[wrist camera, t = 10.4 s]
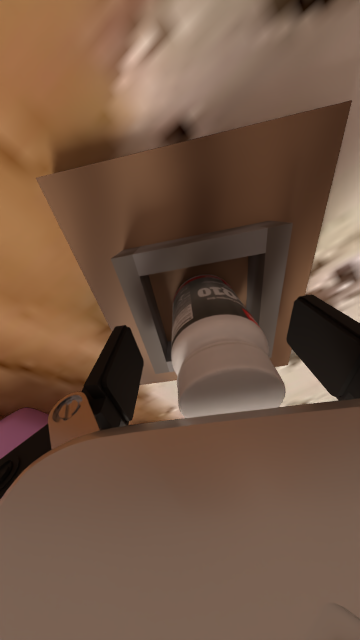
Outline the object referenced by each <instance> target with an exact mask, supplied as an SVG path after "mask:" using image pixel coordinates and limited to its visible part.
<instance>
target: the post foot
mask: <svg viewBox="0 0 360 640" xmlns="http://www.w3.org/2000/svg"><path fill="white" fill-rule="evenodd" d="M351 102H352V100H351V101H347V102H343V103H339V104H335V105H331V106H327V107H322V108H318V109H314V110H310V111H306V112H302V113H298V114H294V115H290V116H286V117H282V118H278V119H274V120H269V121H265V122H261V123H257V124H253V125H249V126H245V127H241V128H237V129H233V130H229V131H225V132H221V133H217V134H212V135H208V136H204V137H200V138H196V139H192V140H188V141H184V142H180V143H176V144H172V145H168V146H164V147H160V148H155V149H151V150H147V151H143V152H139V153H135V154H131V155H127V156H123V157H119V158H115V159H111V160H107V161H103V162H98V163H94V164H90V165H86V166H82V167H78V168H74V169H70V170H66V171H62V172H58V173H54V174H50V175H46V176H41V177H37V178H36V179H37V181H38V184H39V186H40V188H41V190H42V192H43V194H44V196H45V198H46V200H47V202H48V204H49V206H50V208H51V210H52V212H53V214H54V216H55V218H56V220H57V222H58V224H59V226H60V228H61V230H62V232H63V234H64V236H65V238H66V240H67V242H68V244H69V246H70V248H71V250H72V252H73V254H74V256H75V258H76V260H77V262H78V264H79V266H80V268H81V270H82V272H83V274H84V276H85V278H86V280H87V282H88V284H89V286H90V288H91V290H92V292H93V294H94V296H95V298H96V300H97V302H98V304H99V306H100V308H101V310H102V312H103V314H104V316H105V318H106V320H107V322H108V325H109V327H110V329H111V331H113V329H114V328H115V327H116V326H122V325H126V326H127V327H130V329H131V331H132V333H133V336H134V338H135V341H136V343H137V345H138V348H139V350H140V353H141V355H142V357H143V360H144V366H143V371H142V376H141V380H140V385H144V384H151V383H158V382H166V381H173V380H177V374H176V373H175V371H174V368H173V365H172V360H171V345H172V317H173V300H174V296H175V294H176V292H177V290H178V289H179V287H180V286H181V285H182V284H183V283H184V282H186V281H187V280H188V279H190V278H192V277H195V276H198V275H214V276H217V277H219V278H221V279H223V280H224V281H226V282H227V283H228V284H229V285H230V287H231V288H232V289H233V291H234V292H235V294H236V295H237V296H238V298H239V299H240V301H241V302H242V303H243V305H244V306H245V307H246V309H247V310H248V312H249V313H250V314H251V316H252V317H253V318H254V320H255V321H256V322H257V324H258V325H259V327H260V328H261V330H262V331H263V333H264V335H265V337H266V339H267V342H268V347H269V354H268V357H269V358H270V360H271V362H272V364H273V365H274V367H278V366H285V365H288V362H289V358H290V354H291V350H292V348H291V347H290V346H289V345H288V343H287V340H286V338H287V333H288V328H289V323H290V318H291V314H292V309H293V304H294V301H295V300H297V298H298V297H299V296H305V292H306V288H307V284H308V280H309V276H310V272H311V267H312V263H313V259H314V255H315V251H316V247H317V243H318V238H319V234H320V230H321V226H322V222H323V218H324V214H325V210H326V205H327V201H328V197H329V193H330V189H331V185H332V181H333V177H334V172H335V168H336V164H337V160H338V156H339V152H340V148H341V144H342V139H343V135H344V131H345V127H346V123H347V119H348V115H349V111H350V106H351Z"/></svg>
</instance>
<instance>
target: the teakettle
mask: <svg viewBox="0 0 360 640" xmlns="http://www.w3.org/2000/svg"><path fill="white" fill-rule="evenodd" d="M48 416H49V414H46V413H44V412H41V411H38V410H35V409H32V408H26V407H25V408H22V409H20V410H18V411H16V412H14V413H12V414H10V415H8V416H7V417H5V418H4V419H2V420H0V459H1V458H2V457H4V456H5V455H6V454H8V453H9V452H10V451H12V450H13V449H14V448H16V447H17V446H18V445H20V444H21V443H22V442H24V441H25V440H26V439H28V438H29V437H30V436H32V435H33V434H34V433H36V432H37V431H38V430H40V429H41V428H42V427H44V426H45V425H46V424H48Z"/></svg>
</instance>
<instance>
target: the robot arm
mask: <svg viewBox="0 0 360 640" xmlns="http://www.w3.org/2000/svg"><path fill="white" fill-rule="evenodd" d="M286 340H287V343H288V345H289V346H290V347H291V348H292V349H293V351H294V352H295V353H296V354H297V355H298V357H299V358H300V359H301V360H302V361H303V362H304V364H305V365H306V366H307V367H308V368H309V370H310V371H311V372H312V373H313V374H314V375H315V377H316V378H317V379H318V380H319V381H320V383H321V384H322V385H323V386H324V387H325V388H326V390H327V391H328V392H329V393H330V394H331V395H332V396H335V397H336V398H337V399H338V400H339V401H331V402H322V403H313V404H304V405H295V406H286V407H277V408H269V409H260V410H251V411H243V412H234V413H225V414H217V415H208V416H200V417H192V418H184V419H175V420H167V421H159V422H151V423H144V424H137V425H129V426H128V424H129V421H131V420H132V418H133V414H134V409H135V404H136V399H137V395H138V390H139V385H140V380H141V376H142V371H143V366H144V360H143V357H142V355H141V353H140V350H139V348H138V345H137V343H136V341H135V338H134V336H133V333H132V331H131V329H130V327H127V326H126V325H122V326H116V327H115V328H114V329H113V331H112V333H111V335H110V337H109V339H108V341H107V343H106V345H105V346H104V348H103V350H102V352H101V354H100V356H99V358H98V360H97V362H96V363H95V365H94V367H93V369H92V371H91V373H90V375H89V377H88V379H87V380H86V382H85V384H84V388H83V390H82V392H74V393H71V394H69V395H67V396H65V397H63V398H62V399H61V400H59V401H58V402H57V403H56V404H55V406H54V407H53V408H52V410H51V411H50V414H49V416H48V424H46V425H45V426H44V427H42V428H41V429H40V430H38V431H37V432H36V433H34V434H33V435H32V436H30V437H29V438H28V439H26V440H25V441H24V442H22V443H21V444H20V445H18V446H17V447H16V448H14V449H13V450H12V451H10V452H9V453H8V454H6V455H5V456H4V457H2V458H1V459H0V640H360V323H358V322H357V321H355V320H353V319H352V318H350V317H349V316H347V315H345V314H344V313H342V312H340V311H339V310H337V309H335V308H334V307H332V306H330V305H329V304H327V303H325V302H324V301H322V300H321V299H319V298H317V297H316V296H314V295H305V296H299V297H298V298H297V300H295V301H294V304H293V309H292V314H291V318H290V323H289V328H288V333H287V338H286Z"/></svg>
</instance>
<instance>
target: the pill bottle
mask: <svg viewBox="0 0 360 640" xmlns="http://www.w3.org/2000/svg"><path fill="white" fill-rule="evenodd" d="M268 354H269V347H268V342H267V339H266V337H265V335H264V333H263V331H262V330H261V328H260V327H259V325H258V324H257V322H256V321H255V320H254V318H253V317H252V316H251V314H250V313H249V312H248V310H247V309H246V307H245V306H244V305H243V303H242V302H241V301H240V299H239V298H238V296H237V295H236V294H235V292H234V291H233V289H232V288H231V287H230V285H229V284H228V283H227V282H226V281H224V280H223V279H221V278H219V277H217V276H214V275H198V276H195V277H192V278H190V279H188V280H187V281H186V282H184V283H183V284H182V285H181V286H180V287H179V289H178V290H177V292H176V294H175V296H174V300H173V317H172V345H171V360H172V365H173V368H174V371H175V373H176V374H177V387H178V403H179V409H180V411H181V413H182V415H183V416H184V417H185V418H192V417H200V416H208V415H217V414H225V413H234V412H243V411H251V410H260V409H269V408H277V407H279V406H280V405H281V403H282V402H283V399H284V397H285V386H284V383H283V381H282V379H281V377H280V375H279V374H278V372H277V370H276V369H275V367H274V365H273V364H272V362H271V360H270V358H269V357H268Z"/></svg>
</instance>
